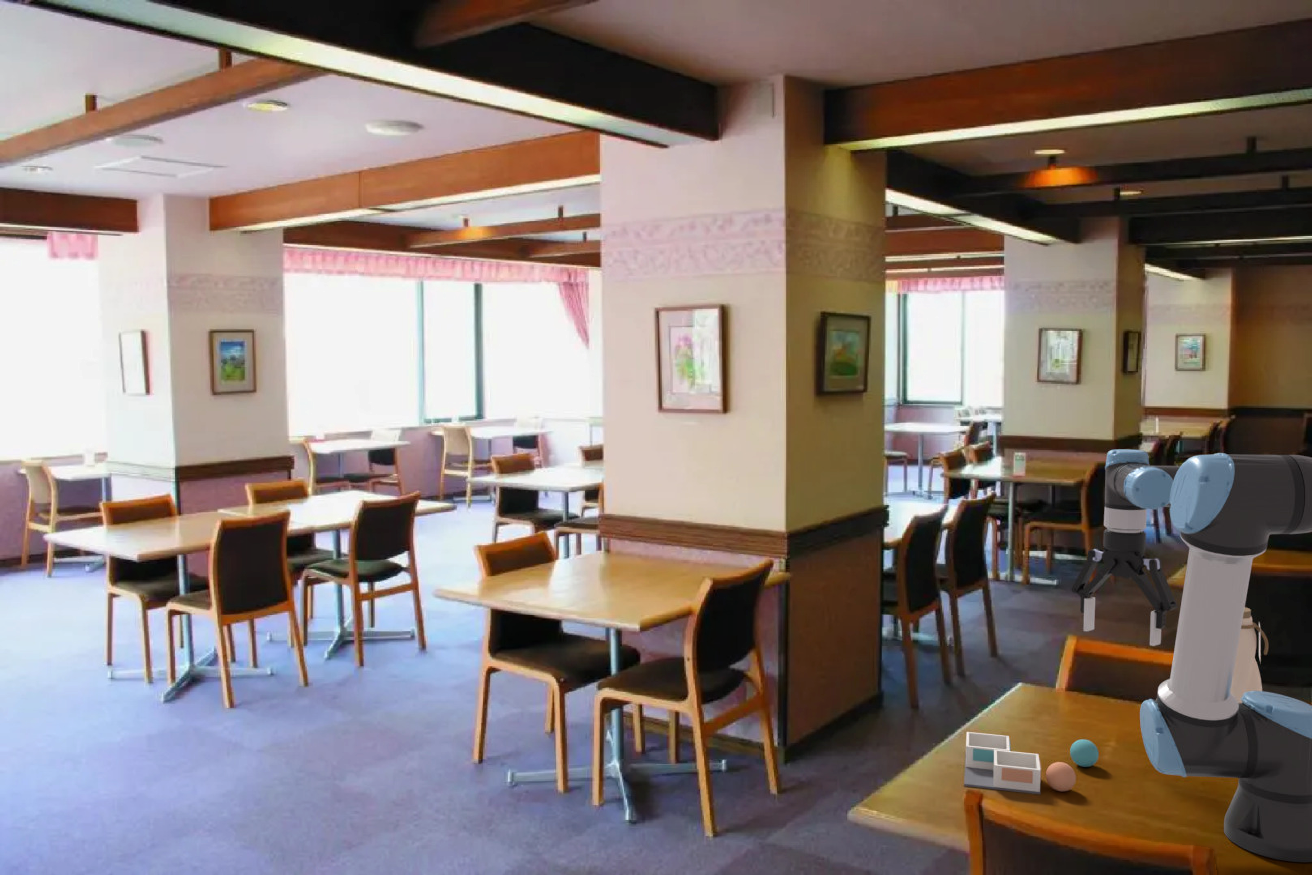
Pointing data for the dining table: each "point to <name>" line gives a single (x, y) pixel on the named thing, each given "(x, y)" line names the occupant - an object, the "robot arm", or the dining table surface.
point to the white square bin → (984, 749)
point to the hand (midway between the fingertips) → (1121, 637)
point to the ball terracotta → (1060, 776)
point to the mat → (984, 779)
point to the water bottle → (1247, 658)
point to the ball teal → (1084, 753)
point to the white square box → (1017, 770)
